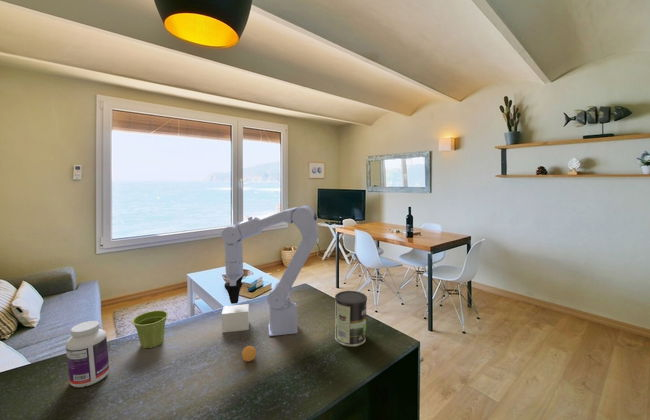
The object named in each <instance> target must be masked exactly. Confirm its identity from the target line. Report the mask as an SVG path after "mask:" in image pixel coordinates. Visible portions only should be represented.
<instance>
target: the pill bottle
mask: <svg viewBox="0 0 650 420" xmlns="http://www.w3.org/2000/svg"><path fill="white" fill-rule="evenodd" d="M70 335H71V336H70V337H69V338H68V339H67V340H66V342H65V351H66V352H65V353H66V359H67V360H66V361H67V369H68V380H69V384H70V385H71V386H72V387H75V388H85V386H86V387H88V386H89V387H90V386H91V385H94V384H96V383H98V382H100V381H101V380H102V379H104V378H105V377H106V376H107V375H108V374H109V371H110V362H109V361H110V360H109V350H108V340H107V338H108V337H107V332H106V331H105V330H104V329H102V328H100V322H99V321H97V320H89V321H84V322H80V323H78V324H75V325H74V326H72V328H71V329H70Z"/></svg>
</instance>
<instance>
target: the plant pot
mask: <svg viewBox="0 0 650 420" xmlns="http://www.w3.org/2000/svg"><path fill="white" fill-rule="evenodd" d="M168 316H169V314H168V312H167V311H165V310H152V311H151V310H150V311H147V312H144V313H142V314H139V315H138V316H137V315H136V317H134V318H133V319H132V321H131V323H132V324H133V325H134V328H135V329H136V332H137V335H138V339H139V343H140V347H141V348H142V347H143V348H142V349H153V348H152V347H154V348H156V347H158V346H161V344H162V343H163V342H164V339H165V327H166V320H167V318H168ZM157 345H158V346H157ZM155 346H156V347H155Z"/></svg>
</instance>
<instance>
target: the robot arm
mask: <svg viewBox="0 0 650 420" xmlns="http://www.w3.org/2000/svg"><path fill="white" fill-rule="evenodd" d="M318 219H319V217H318V215H317V213H316V210H315V208H314V207H312V206H311V205H308V204H304V205H301V206H295V207H291V208H290V207H289V208H287V209H285V210H281V211H279V212H276V213H274V214H271V215H269V216H267V217H264V218H258V217H256V216H255V217H254V216H250V217H247V219H245V220H244V221H237V222H235V223H234V224H232V225H230V226H227V227H225V228H224V229H223V230H222V231H221V235H220V237H221V239H222V241H223V242H224V261H225V263H224V264H225V272H222V273H221V276H222V277H226V279H227V280H228V281H229V282H225V283H224V289H225V290H226V292H227V294H228V296H229V297H228V299H229V302H230V304H231V305H237V304H238V302H239V298H240V292H241V290H242V287H243V282H242V281H243V278H244V276H245V272H244V262H243V259H244V258H243V257H244V255H243V252H244V251H243V240H246V239H249V238H251V237H254V236H257V235H259V234H262V232H263V230H264V229H266V228H268V227H272V226H274V225H278V224H281V223H287V224H291V225H292V224H294V225H295V227H296V228H297V229H298V230H299V232H300V233H301V236H302V237H301V238H302V239H301V241H300V243H299V244H298V247H297V248H296V251H295V252H294V254H293V256H292V258H291V260H290V262H289V263H288V265H287V267H286V269H285V270H284V273H283V274H282V275H281V278H280V280H279V281H277V283H276V284H275V285H274V287H273V289H272V290H271V291H270V292H269V294H268V295H267V299H266V300H267V303H268V306H269V322H268V325H267V326H268V336H269V337H274V336H282V335H283V336H284V335H293V334H298V332H299V331H298V320H299V319H298V306H297V303H296V302H292V301H291V299H290V296H291V295H292V293H293V292H292V290H293V289H292V288H293V285H294V283H295V282H296V280H297V278H298V277H299V274H300V273H301V270H302V268H303V267H304V265H305V264H306V262H307V259H308V258H309V256H310V254H311V252H312V250H313V249H314V247H315V245H316V243H317V241H318V239H319V225H318V224H319V223H318V221H319V220H318Z"/></svg>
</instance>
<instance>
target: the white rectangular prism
mask: <svg viewBox="0 0 650 420" xmlns="http://www.w3.org/2000/svg"><path fill="white" fill-rule="evenodd" d="M221 328H222V329H221V333H231V332H239V331H240V332H241V331H249V330H250V304H249V303H246V304H244V303H243V304H231V305H224V306H223V308H222V312H221Z"/></svg>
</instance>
